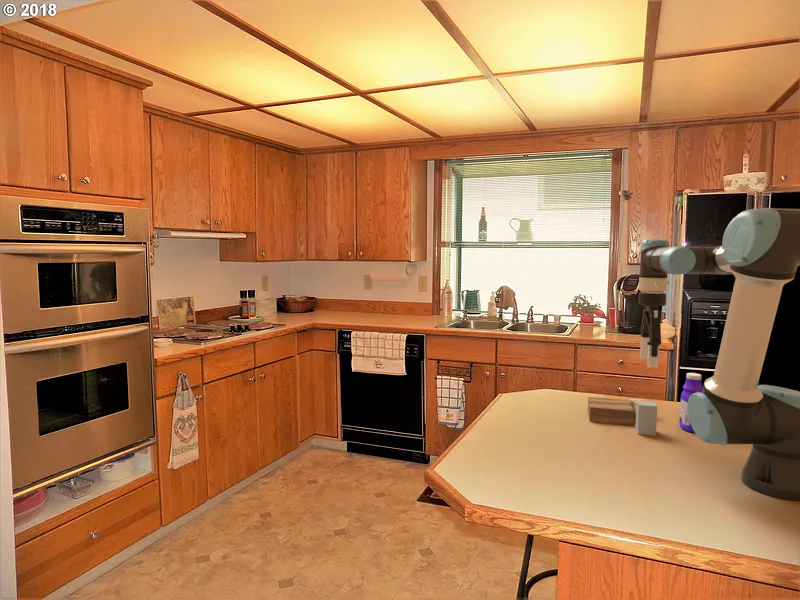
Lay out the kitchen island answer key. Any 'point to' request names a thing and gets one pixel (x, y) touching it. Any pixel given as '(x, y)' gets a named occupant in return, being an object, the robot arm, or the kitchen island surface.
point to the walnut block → (610, 411)
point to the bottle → (689, 388)
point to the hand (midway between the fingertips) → (648, 362)
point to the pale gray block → (646, 418)
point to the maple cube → (633, 404)
